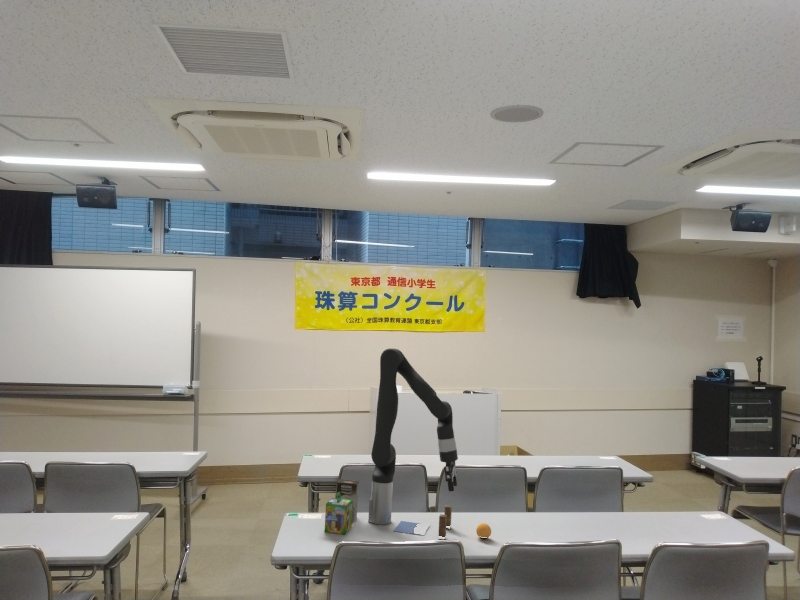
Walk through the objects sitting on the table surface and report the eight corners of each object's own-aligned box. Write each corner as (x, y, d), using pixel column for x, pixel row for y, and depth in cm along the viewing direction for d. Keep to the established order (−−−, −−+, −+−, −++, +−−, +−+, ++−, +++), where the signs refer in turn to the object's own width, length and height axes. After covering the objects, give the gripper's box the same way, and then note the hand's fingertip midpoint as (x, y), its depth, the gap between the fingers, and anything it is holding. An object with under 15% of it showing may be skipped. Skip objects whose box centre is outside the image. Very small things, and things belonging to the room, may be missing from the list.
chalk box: (345, 535, 204) (347, 497, 206) (323, 532, 206) (326, 495, 207) (352, 527, 213) (354, 491, 215) (331, 525, 215) (333, 489, 216)
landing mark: (393, 531, 211) (393, 530, 211) (401, 521, 224) (401, 520, 224) (423, 535, 208) (424, 535, 208) (430, 525, 220) (430, 525, 220)
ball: (475, 540, 206) (475, 524, 207) (476, 535, 212) (477, 520, 212) (490, 542, 204) (490, 527, 205) (491, 537, 210) (492, 522, 211)
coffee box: (333, 520, 221) (336, 482, 222) (337, 515, 227) (339, 478, 229) (354, 522, 220) (356, 483, 221) (357, 517, 226) (359, 480, 228)
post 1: (438, 539, 205) (439, 516, 206) (439, 537, 208) (440, 514, 208) (444, 540, 204) (445, 517, 205) (445, 537, 207) (446, 515, 208)
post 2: (443, 528, 218) (444, 506, 218) (444, 526, 220) (445, 505, 221) (449, 529, 217) (450, 507, 218) (450, 527, 219) (451, 505, 220)
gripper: (441, 447, 225) (447, 484, 223) (436, 453, 211) (441, 493, 209) (458, 445, 223) (464, 483, 221) (453, 451, 209) (459, 492, 207)
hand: (453, 488), depth 215 cm, fingers open, 8 cm apart
